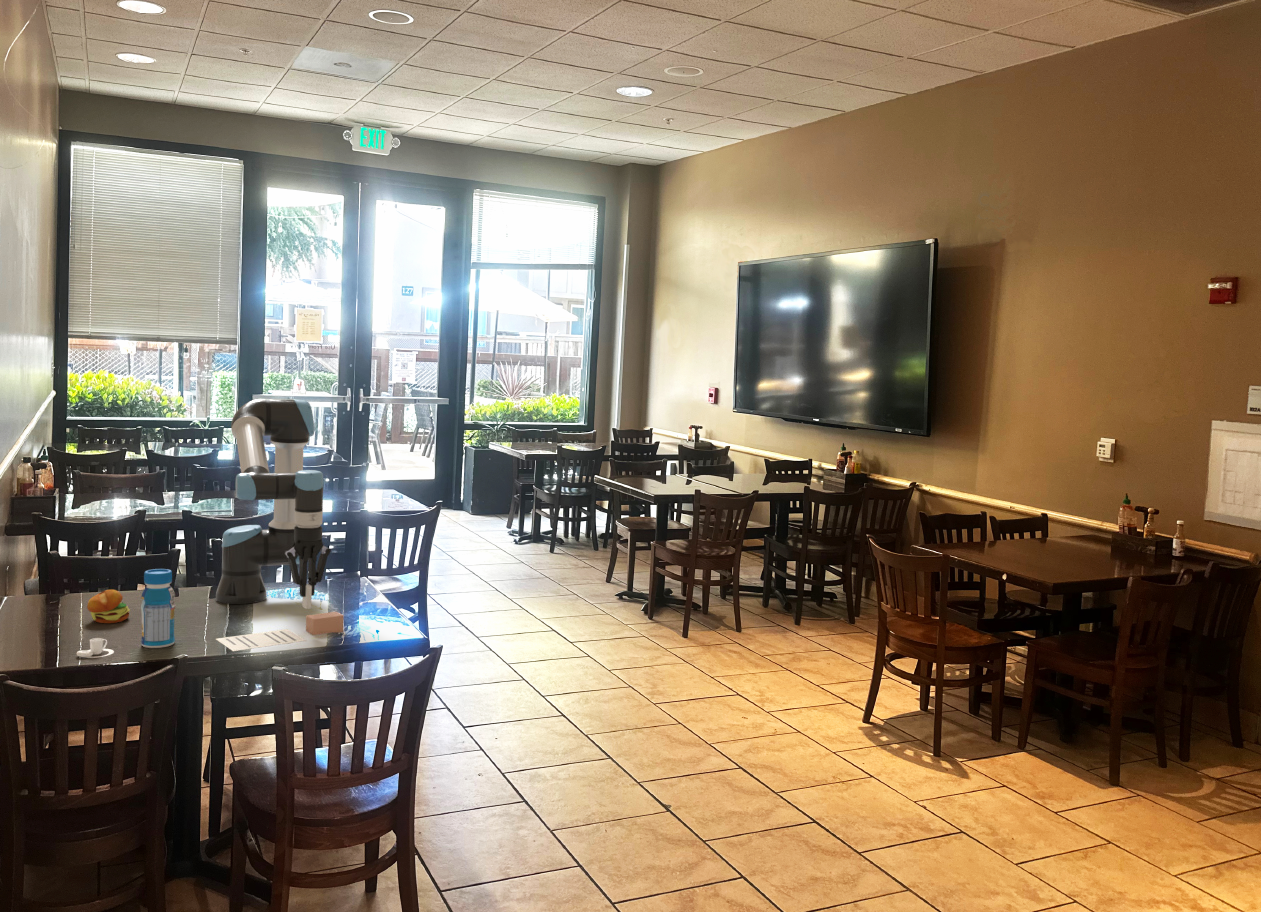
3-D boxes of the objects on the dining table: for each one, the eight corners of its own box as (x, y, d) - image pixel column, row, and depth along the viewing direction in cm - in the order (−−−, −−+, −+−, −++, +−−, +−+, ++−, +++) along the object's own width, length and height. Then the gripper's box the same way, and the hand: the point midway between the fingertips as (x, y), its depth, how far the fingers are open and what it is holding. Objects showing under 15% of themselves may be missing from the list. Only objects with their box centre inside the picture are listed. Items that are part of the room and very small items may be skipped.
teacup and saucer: (77, 661, 256) (77, 645, 256) (73, 653, 263) (73, 638, 262) (116, 657, 261) (116, 641, 261) (111, 649, 268) (111, 634, 267)
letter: (215, 639, 279) (215, 638, 279) (286, 630, 292) (286, 628, 292) (233, 652, 268) (233, 651, 268) (306, 641, 281) (306, 640, 281)
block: (306, 615, 290) (336, 611, 296) (305, 632, 291) (335, 628, 297) (313, 619, 287) (343, 615, 292) (313, 636, 287) (343, 632, 293)
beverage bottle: (152, 650, 266) (153, 575, 265) (133, 645, 271) (133, 571, 269) (181, 644, 274) (182, 571, 272) (162, 638, 278) (163, 566, 276)
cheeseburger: (140, 618, 297) (133, 587, 294) (108, 634, 288) (101, 602, 285) (115, 612, 302) (109, 582, 298) (84, 628, 292) (76, 597, 289)
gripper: (290, 529, 279) (289, 613, 281) (336, 526, 287) (334, 607, 290) (280, 524, 284) (279, 607, 287) (325, 521, 293) (323, 601, 295)
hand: (306, 607), depth 288 cm, fingers closed
